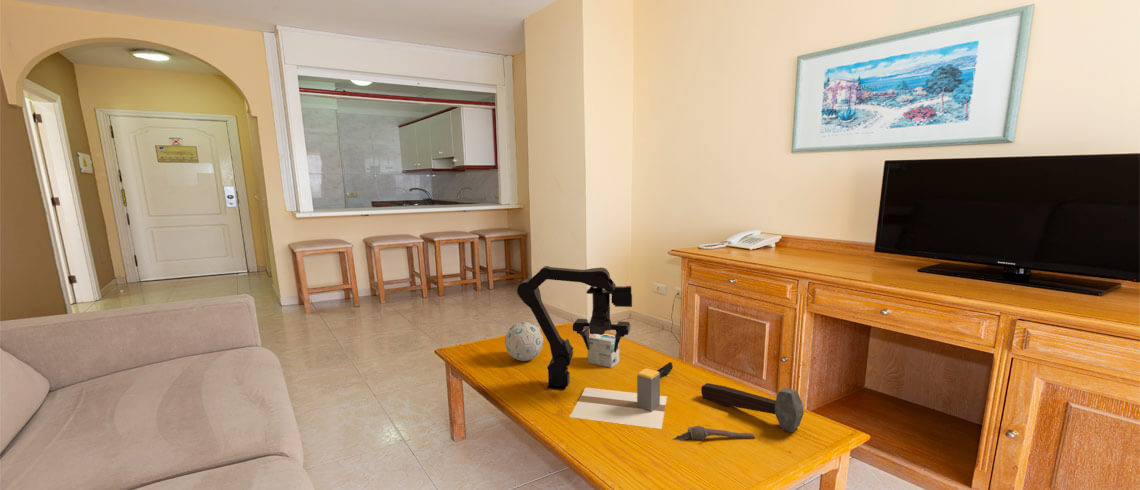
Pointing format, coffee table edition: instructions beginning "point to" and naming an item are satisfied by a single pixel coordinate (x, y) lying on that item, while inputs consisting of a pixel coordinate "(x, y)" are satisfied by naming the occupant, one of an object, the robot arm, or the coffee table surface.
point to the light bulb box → (603, 350)
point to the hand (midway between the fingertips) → (601, 351)
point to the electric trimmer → (665, 370)
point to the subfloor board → (617, 408)
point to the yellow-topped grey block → (648, 389)
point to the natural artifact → (709, 433)
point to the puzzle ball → (524, 341)
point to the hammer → (760, 403)
